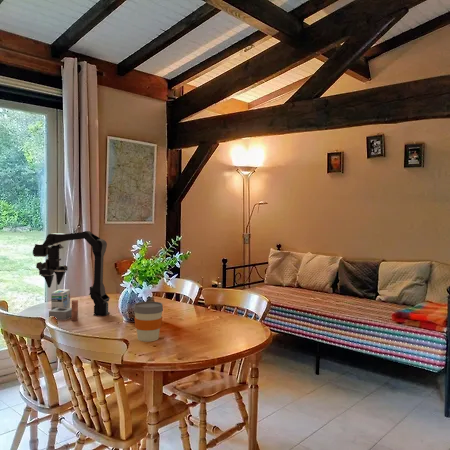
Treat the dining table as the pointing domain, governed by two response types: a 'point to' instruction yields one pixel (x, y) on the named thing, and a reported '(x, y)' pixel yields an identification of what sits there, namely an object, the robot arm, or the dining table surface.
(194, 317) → the dining table surface
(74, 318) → the peg
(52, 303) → the light bulb box
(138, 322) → the reusable coffee cup
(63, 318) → the hole block
